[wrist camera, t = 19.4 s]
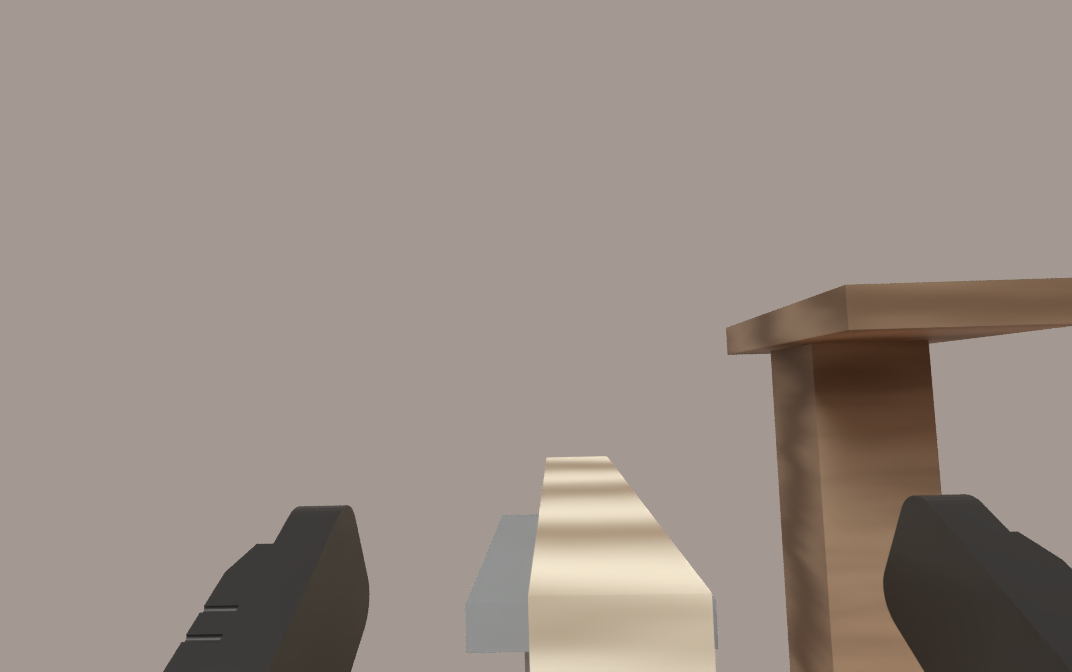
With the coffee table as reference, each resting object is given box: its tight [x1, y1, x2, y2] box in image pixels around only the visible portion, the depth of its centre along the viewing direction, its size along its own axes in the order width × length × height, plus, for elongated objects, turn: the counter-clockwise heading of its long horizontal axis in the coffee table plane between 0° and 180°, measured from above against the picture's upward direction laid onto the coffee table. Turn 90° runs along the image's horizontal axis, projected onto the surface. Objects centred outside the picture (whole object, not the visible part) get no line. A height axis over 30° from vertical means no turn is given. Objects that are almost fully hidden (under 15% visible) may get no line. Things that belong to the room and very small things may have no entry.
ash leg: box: [528, 456, 716, 672], centre depth 23 cm, size 25×3×3 cm, turn 178°
